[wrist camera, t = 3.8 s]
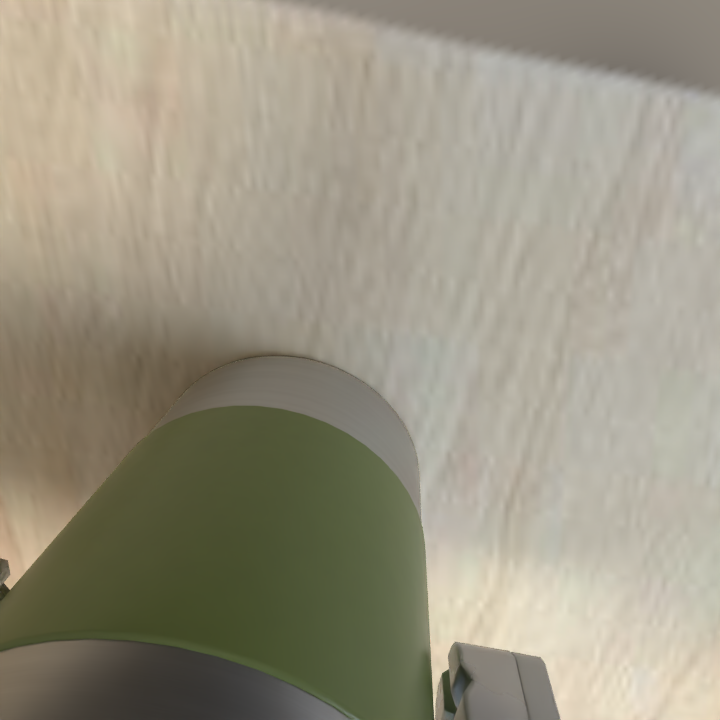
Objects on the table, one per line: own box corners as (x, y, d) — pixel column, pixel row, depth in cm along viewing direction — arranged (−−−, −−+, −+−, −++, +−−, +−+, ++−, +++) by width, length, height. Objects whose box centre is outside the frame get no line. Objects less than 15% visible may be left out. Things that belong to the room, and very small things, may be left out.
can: (367, 314, 12) (228, 988, 2) (454, 545, 14) (551, 1336, 5) (110, 399, 13) (-596, 1037, 4) (228, 597, 15) (-37, 1293, 6)
